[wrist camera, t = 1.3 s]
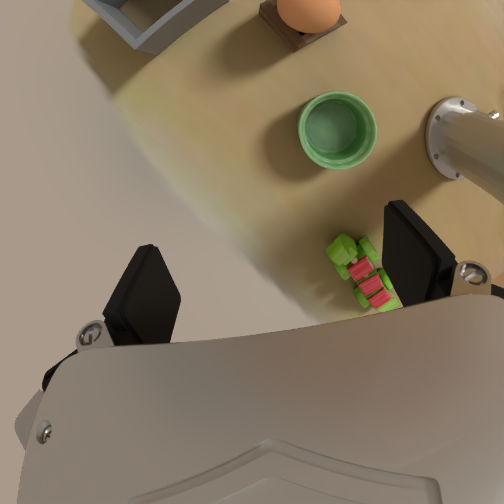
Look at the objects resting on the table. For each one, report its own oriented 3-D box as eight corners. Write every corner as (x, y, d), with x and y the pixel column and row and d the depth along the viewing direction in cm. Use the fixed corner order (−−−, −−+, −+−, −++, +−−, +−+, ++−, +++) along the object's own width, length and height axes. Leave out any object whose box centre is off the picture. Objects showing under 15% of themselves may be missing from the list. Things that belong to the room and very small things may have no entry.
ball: (307, -17, 18) (320, -36, 13) (342, 23, 20) (362, 11, 15) (262, 6, 20) (265, -11, 15) (298, 47, 22) (309, 37, 17)
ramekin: (375, 118, 29) (391, 124, 25) (337, 173, 33) (347, 185, 30) (318, 76, 27) (327, 74, 23) (278, 135, 31) (282, 142, 27)
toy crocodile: (398, 290, 45) (411, 313, 40) (368, 308, 47) (378, 333, 42) (351, 211, 37) (365, 234, 31) (312, 238, 39) (321, 263, 34)
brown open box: (303, -10, 20) (309, -21, 17) (336, 28, 23) (347, 22, 19) (258, 13, 22) (259, 4, 19) (293, 52, 25) (299, 48, 22)
